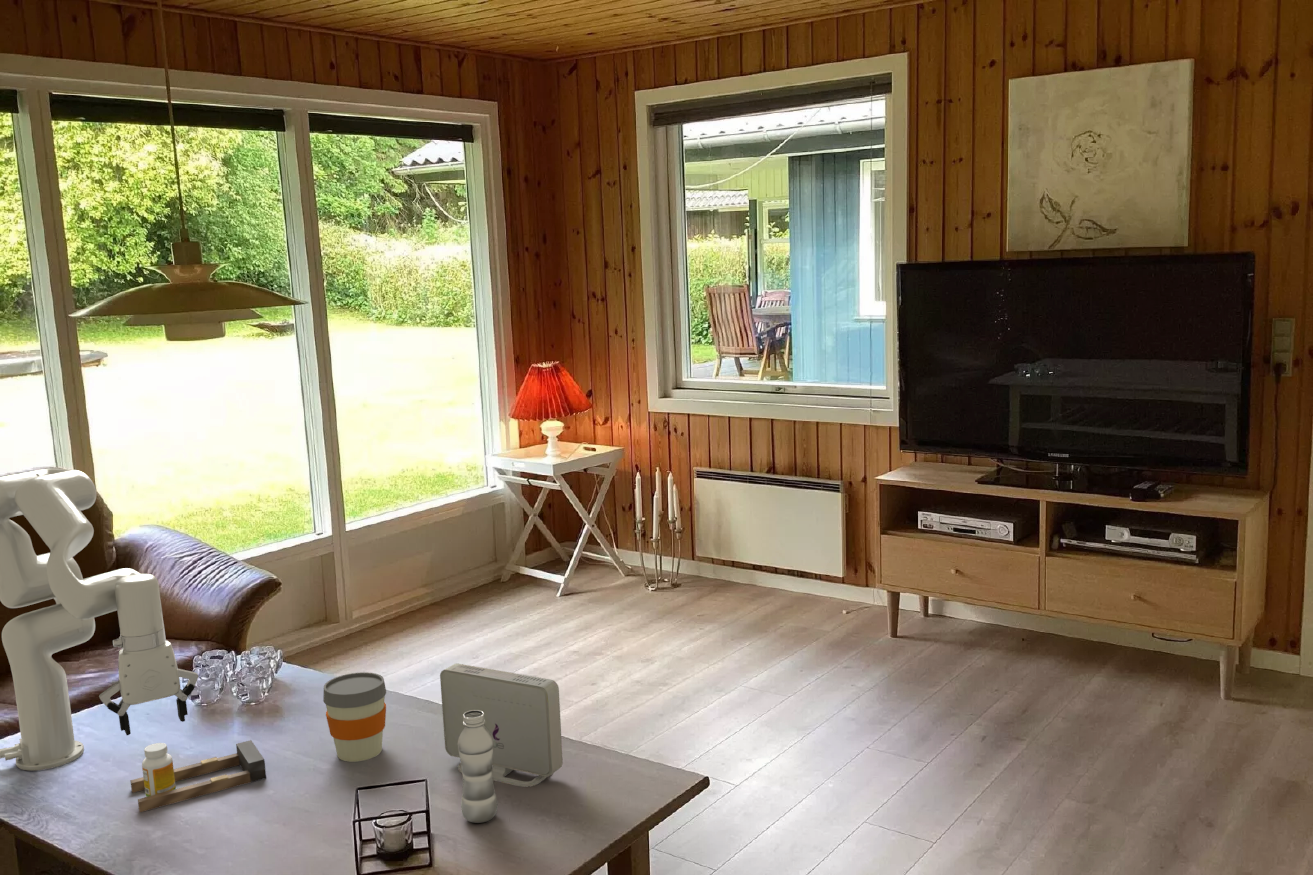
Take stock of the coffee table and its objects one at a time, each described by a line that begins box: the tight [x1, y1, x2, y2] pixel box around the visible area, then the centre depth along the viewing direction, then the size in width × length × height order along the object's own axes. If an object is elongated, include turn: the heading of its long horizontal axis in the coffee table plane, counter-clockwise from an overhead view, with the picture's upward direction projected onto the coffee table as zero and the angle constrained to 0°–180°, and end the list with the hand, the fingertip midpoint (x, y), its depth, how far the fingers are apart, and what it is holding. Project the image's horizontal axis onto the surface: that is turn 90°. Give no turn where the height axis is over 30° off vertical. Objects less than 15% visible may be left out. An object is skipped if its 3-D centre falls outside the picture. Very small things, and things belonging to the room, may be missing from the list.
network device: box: [439, 663, 564, 788], centre depth 219 cm, size 26×9×20 cm, turn 62°
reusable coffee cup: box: [322, 671, 387, 763], centre depth 231 cm, size 13×13×15 cm
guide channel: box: [130, 739, 267, 813], centre depth 220 cm, size 23×11×4 cm, turn 122°
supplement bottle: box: [141, 742, 177, 797], centre depth 215 cm, size 5×5×10 cm
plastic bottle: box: [457, 710, 499, 824], centre depth 201 cm, size 6×7×20 cm
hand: (155, 726), depth 214 cm, fingers open, 9 cm apart
